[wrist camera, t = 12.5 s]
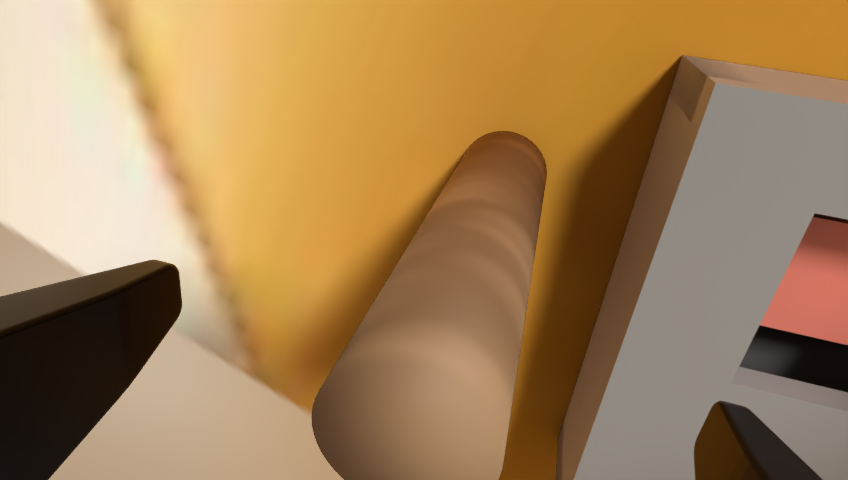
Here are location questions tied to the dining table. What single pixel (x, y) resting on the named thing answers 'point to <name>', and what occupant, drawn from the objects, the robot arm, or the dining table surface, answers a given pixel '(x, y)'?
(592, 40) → the dining table surface
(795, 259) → the button
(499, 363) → the tan rounded rod
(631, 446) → the panel
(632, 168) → the dining table surface
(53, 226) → the dining table surface
